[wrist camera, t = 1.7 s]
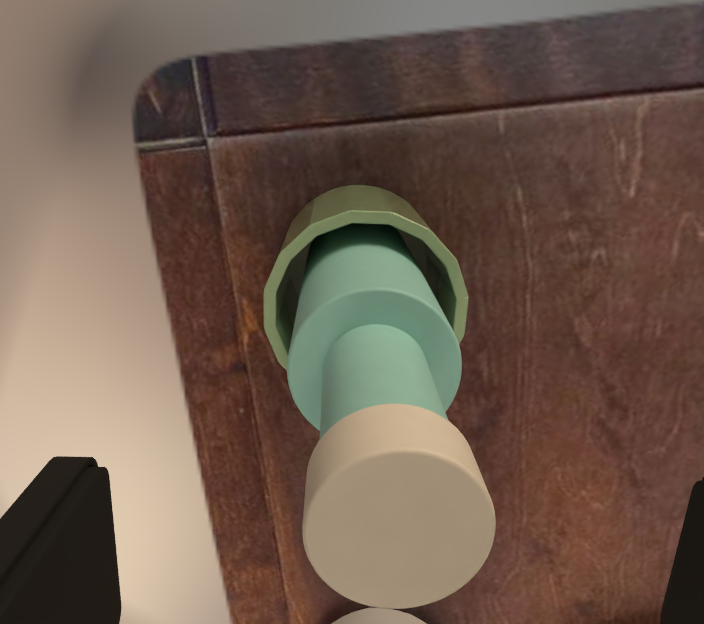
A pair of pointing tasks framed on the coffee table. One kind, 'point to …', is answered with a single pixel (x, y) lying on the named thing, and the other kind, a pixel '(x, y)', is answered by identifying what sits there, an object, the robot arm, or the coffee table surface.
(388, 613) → the can
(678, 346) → the coffee table surface
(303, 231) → the holder
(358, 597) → the bottle
